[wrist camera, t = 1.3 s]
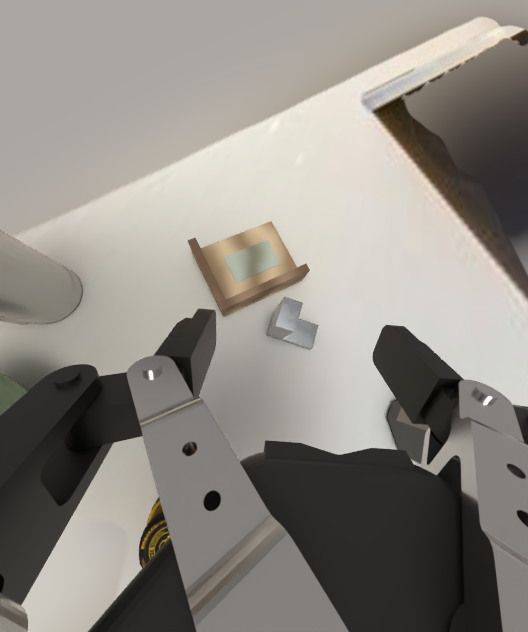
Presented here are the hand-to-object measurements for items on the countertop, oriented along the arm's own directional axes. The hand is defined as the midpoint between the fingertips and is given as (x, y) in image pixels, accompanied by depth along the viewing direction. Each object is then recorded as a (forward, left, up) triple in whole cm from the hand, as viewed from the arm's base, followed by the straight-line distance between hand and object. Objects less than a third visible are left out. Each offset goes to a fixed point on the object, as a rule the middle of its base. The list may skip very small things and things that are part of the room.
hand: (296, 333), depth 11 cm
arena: (+6, +14, -26) cm, 30 cm away
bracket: (+7, +1, -26) cm, 27 cm away
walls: (+6, +14, -26) cm, 30 cm away
